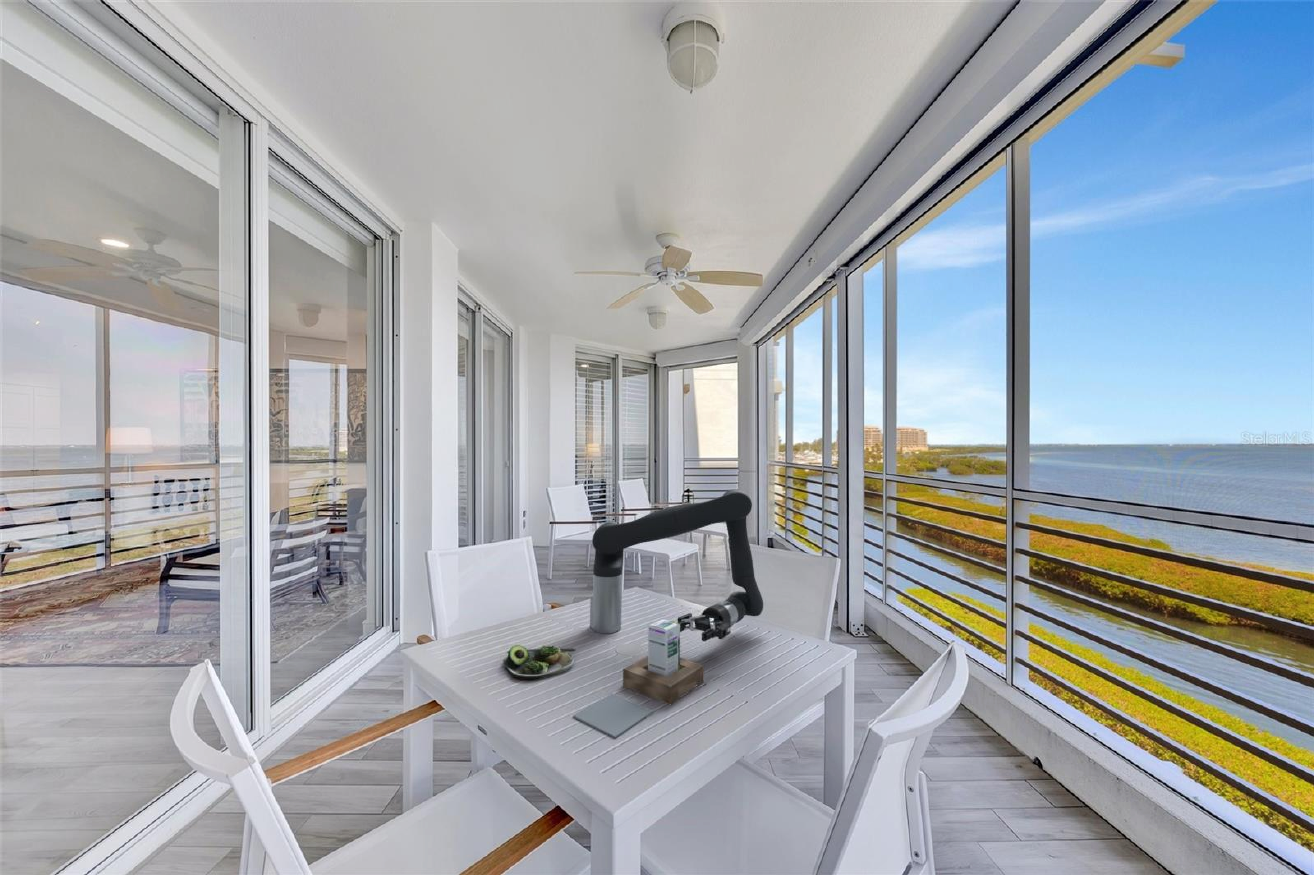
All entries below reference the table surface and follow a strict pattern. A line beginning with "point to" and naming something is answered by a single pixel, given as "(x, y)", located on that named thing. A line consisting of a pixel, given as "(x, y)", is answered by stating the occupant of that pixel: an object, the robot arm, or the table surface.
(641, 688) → the socket block
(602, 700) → the mat
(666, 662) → the syrup box
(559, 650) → the salad plate
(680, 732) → the table surface
